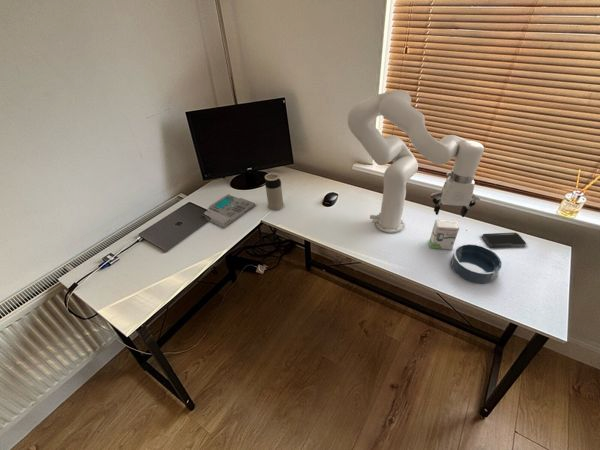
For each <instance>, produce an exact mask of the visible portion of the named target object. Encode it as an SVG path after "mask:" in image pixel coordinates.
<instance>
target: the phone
mask: <svg viewBox="0 0 600 450" xmlns="http://www.w3.org/2000/svg"><path fill="white" fill-rule="evenodd" d="M481 238H482V239H483V241H484V242H485V243H486V245H487V246H488V247H489V248H493V249H495V248H513V247H514V248H517V247H518V248H519V247H520V248H521V247H525V246H526V245H527V242H526V241H525V240H524V239H523V238H522V237H521V236H520V234H519V233H517V232H497V233H496V232H495V233H494V232H493V233H483V234H482V236H481Z"/></svg>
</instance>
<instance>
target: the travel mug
mask: <svg viewBox="0 0 600 450" xmlns="http://www.w3.org/2000/svg"><path fill="white" fill-rule="evenodd" d="M280 177H281V176H280V174H279V173H277V172H269V173H267V174H265V175H264V179H265V182H264V186H265V193H266V198H267V206H268V208H269V209H270V210H273V211H278V210H280V209H282V208H283V207H284V198H283V188H282V181H281V178H280Z"/></svg>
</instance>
